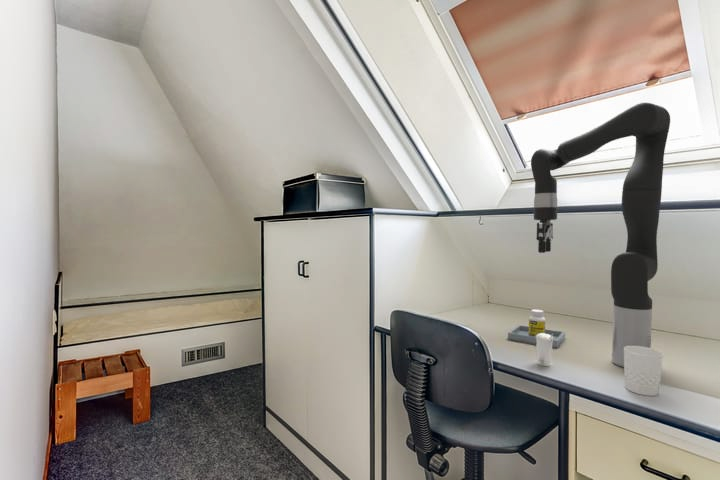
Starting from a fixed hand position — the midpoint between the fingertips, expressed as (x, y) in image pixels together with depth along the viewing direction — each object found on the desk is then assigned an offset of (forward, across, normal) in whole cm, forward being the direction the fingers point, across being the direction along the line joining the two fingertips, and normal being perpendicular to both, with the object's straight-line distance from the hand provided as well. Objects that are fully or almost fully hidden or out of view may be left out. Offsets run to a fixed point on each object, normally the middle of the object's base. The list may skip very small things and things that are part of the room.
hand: (544, 252), depth 138 cm
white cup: (+32, -32, -29) cm, 54 cm away
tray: (+31, -2, +2) cm, 31 cm away
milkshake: (+32, -28, -6) cm, 42 cm away
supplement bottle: (+31, -2, +2) cm, 31 cm away
